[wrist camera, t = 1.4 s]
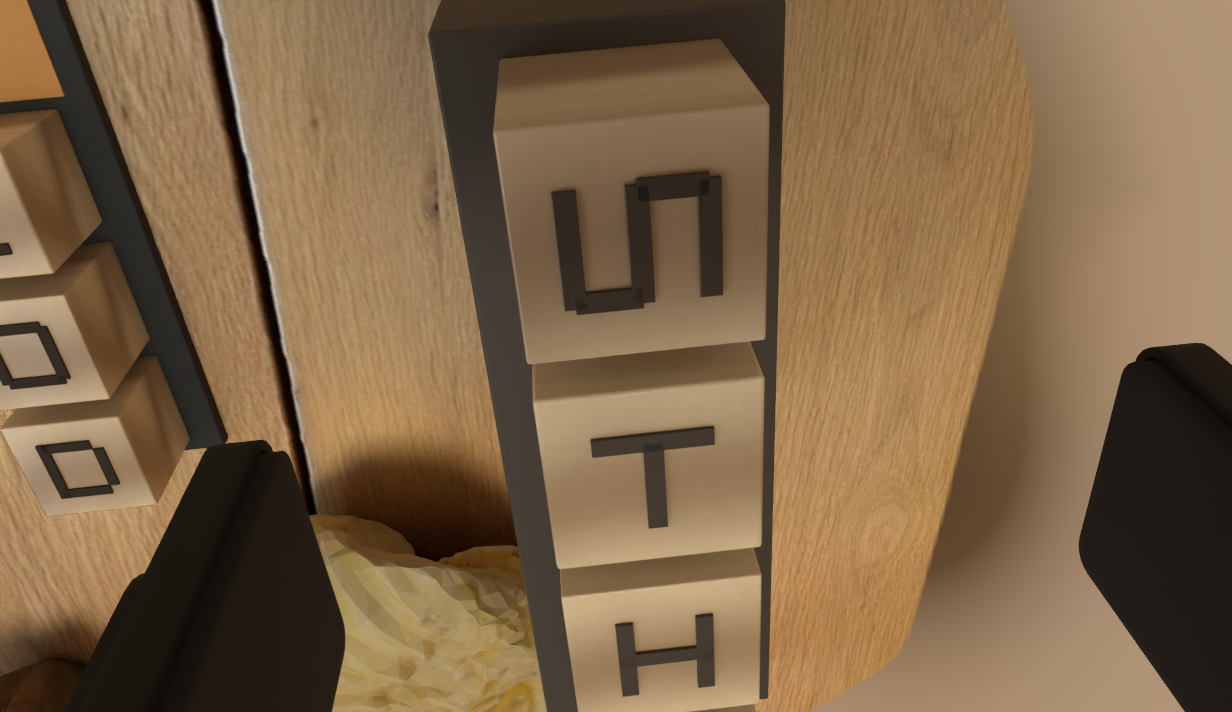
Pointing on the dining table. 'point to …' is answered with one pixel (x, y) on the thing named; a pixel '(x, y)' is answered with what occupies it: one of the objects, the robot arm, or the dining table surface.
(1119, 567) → the robot arm
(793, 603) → the dining table surface
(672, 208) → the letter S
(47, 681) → the sculpture
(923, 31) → the dining table surface
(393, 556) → the ammonite fossil
